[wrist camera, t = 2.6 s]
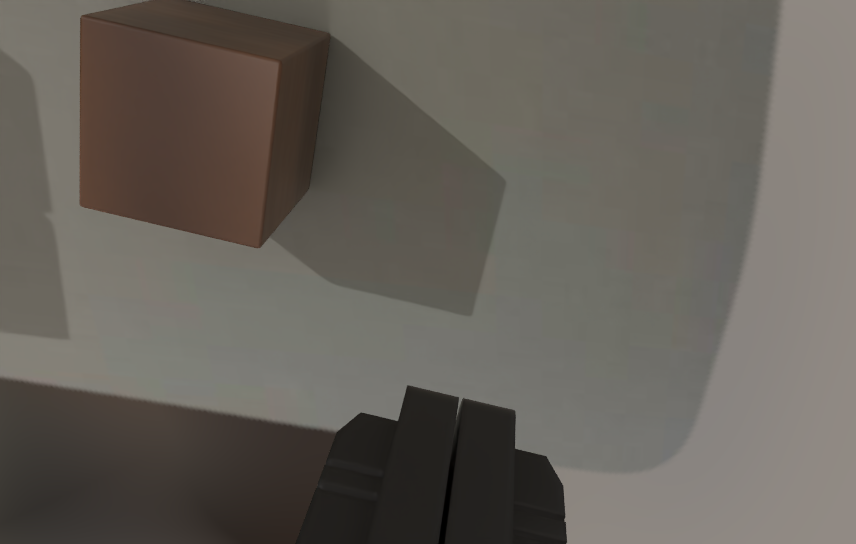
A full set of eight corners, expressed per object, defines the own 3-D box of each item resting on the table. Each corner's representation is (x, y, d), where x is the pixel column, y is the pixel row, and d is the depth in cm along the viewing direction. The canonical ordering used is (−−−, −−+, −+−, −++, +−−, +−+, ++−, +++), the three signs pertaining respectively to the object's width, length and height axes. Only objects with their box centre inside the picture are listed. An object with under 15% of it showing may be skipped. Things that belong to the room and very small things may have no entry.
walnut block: (331, 33, 23) (282, 61, 18) (309, 190, 25) (260, 250, 20) (167, -5, 23) (78, 14, 18) (159, 155, 25) (78, 207, 21)
